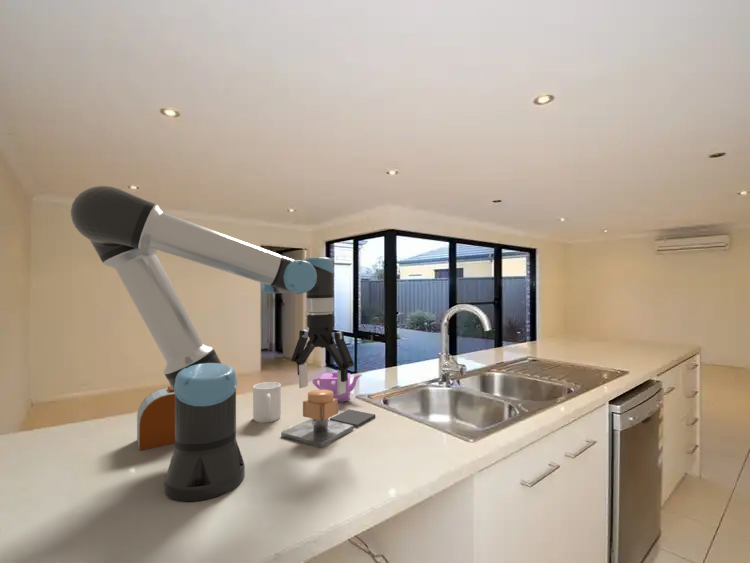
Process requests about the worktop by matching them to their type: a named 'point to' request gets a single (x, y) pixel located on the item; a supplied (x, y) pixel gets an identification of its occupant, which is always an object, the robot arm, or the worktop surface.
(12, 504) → the worktop surface
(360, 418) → the pad
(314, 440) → the post fixture
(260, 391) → the cup
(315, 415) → the cap
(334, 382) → the teapot
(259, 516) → the worktop surface
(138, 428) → the orange rounded block
